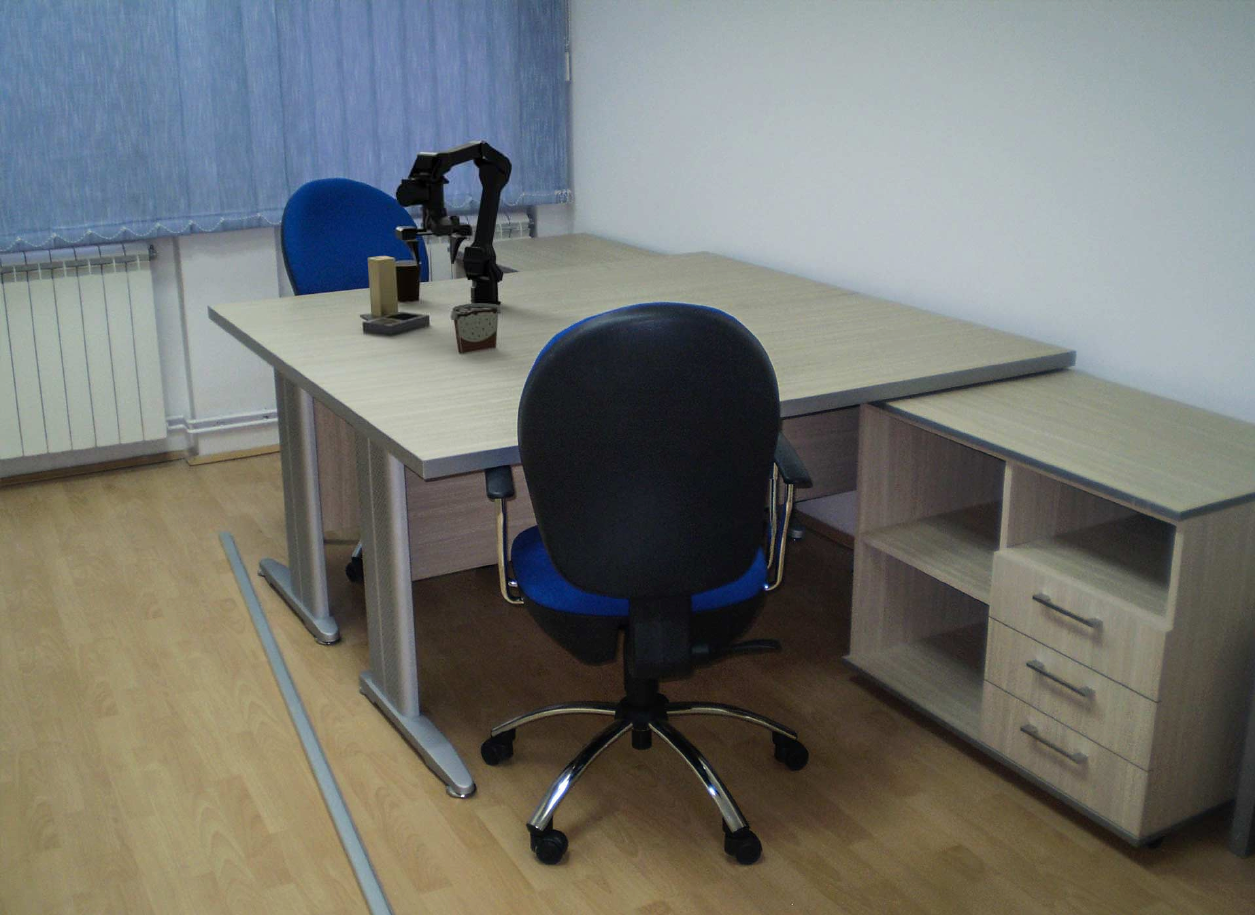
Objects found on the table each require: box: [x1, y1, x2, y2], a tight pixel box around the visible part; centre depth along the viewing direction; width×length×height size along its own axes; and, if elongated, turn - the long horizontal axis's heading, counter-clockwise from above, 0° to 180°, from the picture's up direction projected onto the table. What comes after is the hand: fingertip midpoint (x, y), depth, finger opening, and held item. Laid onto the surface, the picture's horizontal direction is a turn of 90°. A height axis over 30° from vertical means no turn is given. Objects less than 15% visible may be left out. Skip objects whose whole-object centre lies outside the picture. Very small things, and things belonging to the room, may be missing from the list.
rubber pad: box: [359, 313, 376, 321], centre depth 326 cm, size 10×10×1 cm
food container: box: [450, 303, 501, 355], centre depth 293 cm, size 12×6×10 cm, turn 129°
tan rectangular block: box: [367, 255, 399, 318], centre depth 323 cm, size 5×5×15 cm
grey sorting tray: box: [361, 311, 431, 337], centre depth 314 cm, size 14×9×3 cm, turn 149°
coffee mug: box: [395, 260, 422, 303], centre depth 348 cm, size 12×9×10 cm
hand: (435, 265), depth 324 cm, fingers open, 9 cm apart
